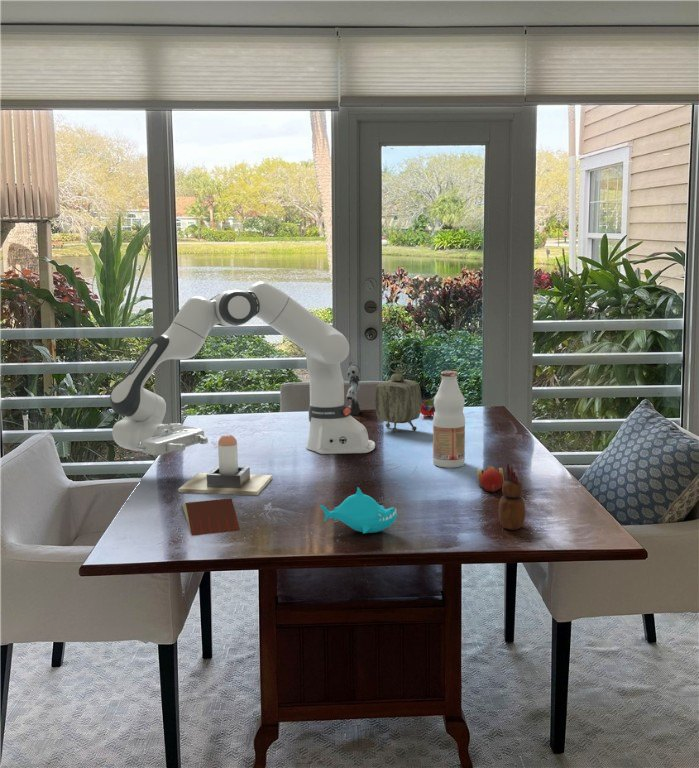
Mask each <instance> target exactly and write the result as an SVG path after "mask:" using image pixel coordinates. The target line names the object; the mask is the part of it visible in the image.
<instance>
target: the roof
mask: <svg viewBox="0 0 699 768" xmlns="http://www.w3.org/2000/svg"><path fill="white" fill-rule="evenodd" d="M181 507H182V510H183V512H184V516H185V519H186V522H187V525H188V529H189V531H190V535H191V537H192V536H193V537H195V536H204V535H213V534H220V533H221V534H223V533H230V532H240V531H241V529H240V524H239V522H238V515H237V514H236V513H237V512H236V510H235V506H234V502H233V498H232V497H231V498H221V499H211V500H202V501H201V500H200V501H199V500H198V501H189V502H184V504H182V505H181Z"/></svg>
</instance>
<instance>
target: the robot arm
mask: <svg viewBox="0 0 699 768" xmlns="http://www.w3.org/2000/svg"><path fill="white" fill-rule="evenodd" d="M254 317H257V318H258V319H260V320H262V321H263V322H264V323H266V325H268V326H269V327H271V328H272V329H274V331H277V332H278V333H279V334H281V335H282V336H283V337H285V338H286V339H288V340H289V341H291V342H292V343H293V344H294V345H296V346H298V347H299V348H301V349H302V350H304V351H305V359H306V366H307V373H308V380H309V405H308V420H309V421H308V422H309V430H308V437H307V441H306V445H305V449H307V450H309V451H312V452H316V453H318V454H321V455H328V454H329V455H330V454H331V455H332V454H336V455H337V454H367V453H370V452H371V451H374V449H375V448H376V443H375V441H373V440H371V439H369V434H368V430H367V427H365V426H364V424H362V423H360V421H358V420H356V418H354V417H353V416H352V415H350V413H351V410H350V406H351V405H347V404H346V403H345V387H344V386H345V384H344V383H345V380H344V377H343V373H342V368H341V363H343V362H344V361H345V360H346V359H347V357H348V356H349V353H350V344H349V341H348V339H347V338H346V336H345V335H344V334H343V333H342V332H340V331H339V330H337V328H334V327H333V326H332V325H330V324H329V323H327V322H326V321H325V320H323V319H321V318H320V317H319V316H317V315H315V314H314V313H313V312H311V311H310V310H308V309H307V308H306V307H304V306H303V305H302V304H300V303H299V302H297V301H296V300H295V299H293V298H292V297H291V296H289V295H288V294H287V293H285V292H284V291H282V290H281V289H278V288H277V287H275V286H273V285H272V284H269V283H268V282H265V281H258V282H255V283H254V284H252V285H251V286H250V287H249V288H248V290H242V289H233V290H231V289H230V290H225V291H222V292H221V293H219V294H216V295H215V296H213V297H212V298H210V299H207V298H205V297H204V296H198V295H197V296H195V295H194V296H191V297H190V298H188V299H187V300H186V302H185V303H184V304H183V306H182V307H181V308H180V309H179V311H178V313H177V314H176V316H175V317H174V319H173V320H172V322H171V324H170V326H169V327H168V329H167V330H166V331H165V332H164V333H163V334H161V335H158V336H156V337H154V338H153V339H152V340H150V341H151V342H149V344H148V345H147V346H146V347H145V349H144V350H143V351H142V353H141V354H140V355H139V357H138V358H137V359H136V361H135V362H134V363H133V365H132V366H131V368H130V369H129V371H127V373H126V374H125V376H124V377H122V379H121V380H119V381H118V383H117V384H116V385H115V386H113V389H112V390H111V392H110V395H109V403H110V406H111V409H112V411H113V412H114V413H115V414H117V415H120V416H122V417H123V418H122V419H120V420H118V421H116V422H115V423H114V425H113V427H112V431H111V434H112V439H113V441H114V442H115V443H116V444H117V445H118V446H119V447H121V448H123V449H126V450H130V451H133V452H142V453H143V454H146V455H147V454H148V455H151V456H162V455H166V454H169V453H171V452H183V451H185V450H186V448H187V447H190V446H194V445H197V444H199V445H206V444H209V443H208V441H209V438H208V437H206V436H205V431H204V429H202V428H200V427H194V426H190V425H183V424H182V423H179V422H175V423H174V422H173V423H164V421H165V419H166V415H167V412H168V411H167V410H168V405H167V402H166V399H165V398H164V397H162V396H160V395H159V394H157V393H155V392H152V391H151V390H148V389H147V388H144V386H145V384H146V382H147V381H148V380H149V378H150V377H151V375H152V374H153V373H154V371H156V368H157V367H158V366H159V365H160V364H161V363H162V362H165V361H169V360H188V359H191V358H193V357H195V356H196V355H197V354H198V352H199V351H200V350H201V348H202V347H203V345H204V343H205V340H206V339H207V337H208V335H209V333H210V332H211V330H212V329H213V328H214V327H215V326H216V325H217V326H221V327H229V328H235V327H238V326H242V325H245V324H247V323H248V322H249V321H251V320H252V318H254Z"/></svg>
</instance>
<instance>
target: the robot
mask: <svg viewBox="0 0 699 768" xmlns="http://www.w3.org/2000/svg"><path fill="white" fill-rule="evenodd" d="M360 371H361V370H360V367H359V366H358V365H356V364H353V362H352V361H350V362H349V364H348V368H347V369H346V372H347V379H348V380H349V385H350V387H349V388H348V389H347V393H346V400H347V401H349V402H350V401H351V403H350V405H349V406H350V410H351V413H350V416H358V415H360V414H359V413H360V412H361V408H360V405H359V402H358V400H357V399H358V398H357V394H358V393H359V392H360V390H361V385H360V377H359V376H358V375H359V374H360V373H361V372H360Z"/></svg>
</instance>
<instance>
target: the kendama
mask: <svg viewBox="0 0 699 768" xmlns="http://www.w3.org/2000/svg"><path fill="white" fill-rule="evenodd" d="M477 479H478V485H479V487H480V488H483V489H484V490H485V491H487V492H491V493H492V492H497V491H499V490H500V489H502V485H503V483H504V481H505V476H504V470H503V467H498V468H497V469H496V467H495V466H493V465H488V466H486V468H485V469H482V468H480V469H477Z"/></svg>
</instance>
